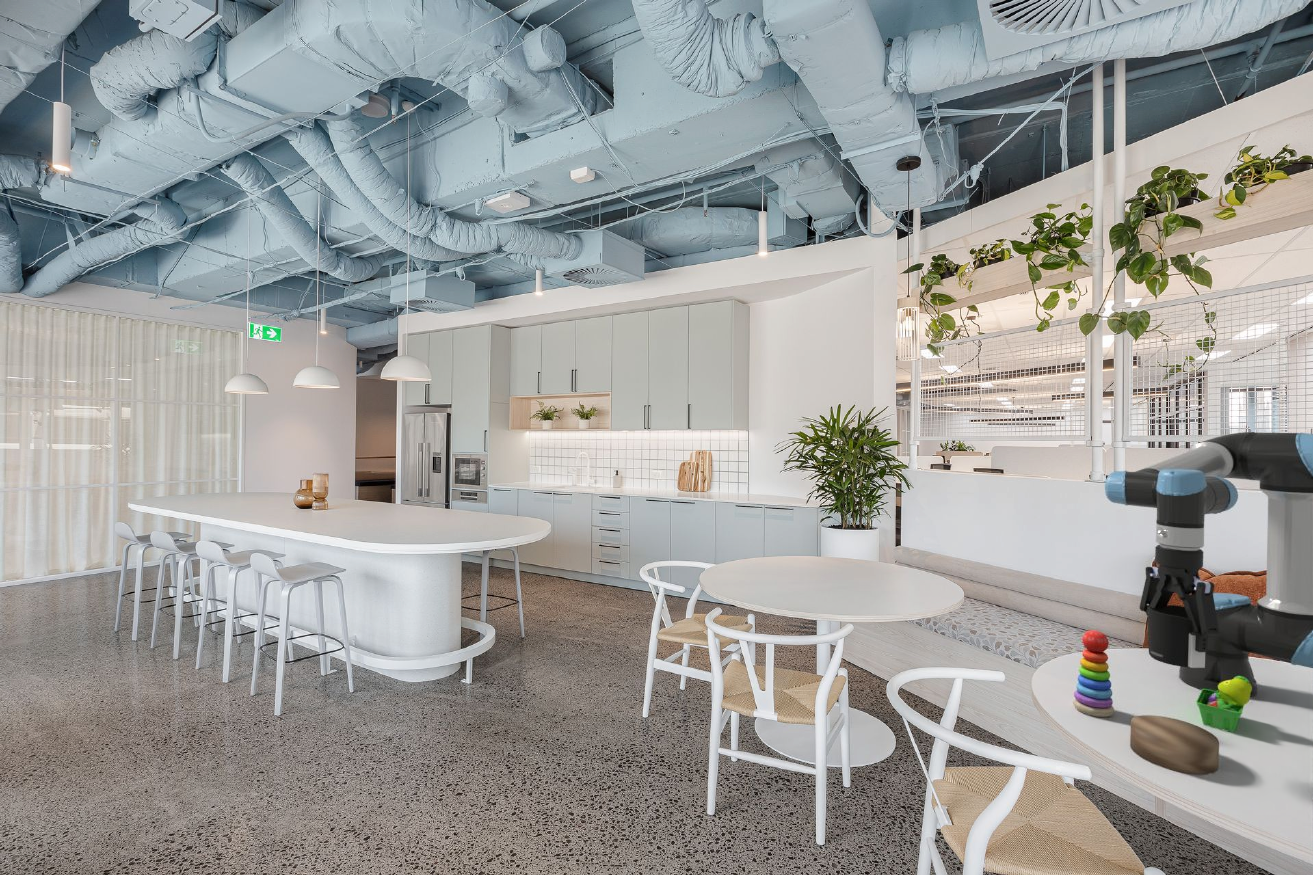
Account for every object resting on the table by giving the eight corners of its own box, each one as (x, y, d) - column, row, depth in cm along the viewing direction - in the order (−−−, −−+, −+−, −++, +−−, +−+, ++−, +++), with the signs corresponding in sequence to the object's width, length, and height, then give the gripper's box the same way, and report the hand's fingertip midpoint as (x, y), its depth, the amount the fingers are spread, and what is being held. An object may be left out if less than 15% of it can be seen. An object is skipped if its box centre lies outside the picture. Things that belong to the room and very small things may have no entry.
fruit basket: (1201, 708, 153) (1203, 661, 153) (1252, 721, 147) (1254, 671, 147) (1194, 724, 145) (1196, 674, 145) (1248, 739, 139) (1250, 686, 139)
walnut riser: (1177, 737, 140) (1177, 714, 139) (1238, 773, 126) (1239, 748, 125) (1113, 738, 139) (1114, 715, 139) (1167, 775, 125) (1168, 749, 125)
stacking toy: (1120, 720, 148) (1123, 638, 147) (1081, 716, 149) (1083, 635, 148) (1104, 704, 155) (1106, 626, 155) (1067, 701, 157) (1069, 624, 156)
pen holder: (1143, 648, 138) (1144, 601, 138) (1200, 656, 133) (1202, 608, 133) (1149, 662, 130) (1151, 613, 130) (1210, 672, 125) (1212, 620, 125)
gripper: (1120, 536, 141) (1117, 639, 142) (1208, 558, 120) (1204, 679, 121) (1153, 536, 142) (1150, 638, 142) (1248, 558, 120) (1244, 679, 121)
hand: (1175, 657), depth 132 cm, fingers closed on pen holder, 9 cm apart
